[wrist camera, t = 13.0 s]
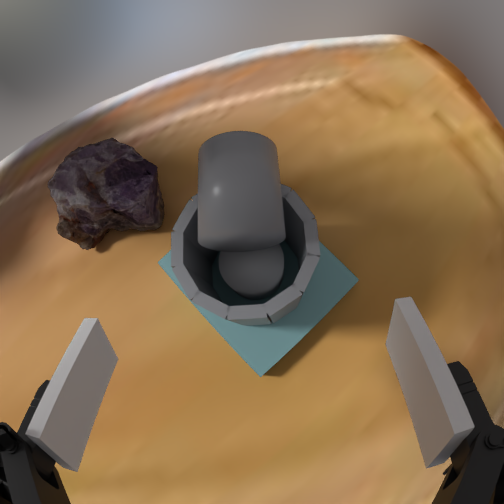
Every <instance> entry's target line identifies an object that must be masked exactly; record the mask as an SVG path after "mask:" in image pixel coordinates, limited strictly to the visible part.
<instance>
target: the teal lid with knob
mask: <svg viewBox="0 0 504 504" xmlns="http://www.w3.org/2000/svg"><path fill="white" fill-rule="evenodd" d="M319 247H320V259H319V261H318V263H317V266H316V268H315V270H314V272H313V274H312V276H311V279H310V281H309V283H308V285H307V287H306V289H305V292H304V294H303V296H302V298H301V300H300V302H299V304H298V306H297V307H296V309H294V310H293V311H291V312H290V313H288V314H287V315H286V316H284V317H283V318H281V319H280V320H278V321H277V322H275V323H273V322H272V324H266V325H251V326H244V325H240V324H237V323H234V322H231V321H229V320H226V319H223V318H222V317H220V316H218V315H216V314H214V313H212V312H210V311H208V310H206V309H204V308H202V307H201V306H199V305H197V304H195V303H193V302H192V301H191V300H190V299H189V298H188V296H187V294H186V293H185V291H184V289H183V288H182V286H181V284H180V283H179V281H178V279H177V277H176V276H175V274H174V272H173V270H172V267H171V250H170V251H169V252H168V253H167V254H166V255H165V256H164V257H163V258H162V259H161V260H160V261H159V262H158V263H159V265H160V266H161V267H162V268H163V270H164V271H165V272H166V273H167V274H168V276H169V277H170V278H171V279H172V280H173V281H174V283H175V284H176V285H177V286H178V287H179V289H180V290H181V291H182V292H183V293H184V294H185V295H186V297H187V298H188V299H189V300H190V301H191V302H192V304H193V305H194V306H195V307H196V308H197V309H198V310H199V312H200V313H201V314H202V315H203V316H204V317H205V318H206V319H207V320H208V322H209V323H210V324H211V325H212V326H213V327H214V328H215V329H216V330H217V332H218V333H219V334H220V335H221V336H222V337H223V338H224V339H225V340H226V341H227V342H228V344H229V345H230V346H231V347H232V348H233V349H234V350H235V351H236V352H237V353H238V354H239V355H240V356H241V357H242V358H243V359H244V361H245V362H246V363H247V364H248V365H249V366H250V367H251V368H252V369H253V370H254V371H255V372H256V373H257V374H258V375H259V376H260V377H261V376H262V375H264V374H265V373H266V372H267V371H268V370H269V369H270V368H271V367H272V366H273V365H274V364H276V363H277V362H278V361H279V360H280V359H281V358H282V357H283V356H284V355H285V354H286V353H287V352H288V351H289V350H290V349H292V348H293V347H294V346H295V345H296V344H297V343H298V342H299V341H300V340H301V339H302V338H303V337H304V336H305V335H306V334H307V333H308V332H309V331H310V330H311V329H312V328H313V327H314V326H315V325H316V324H317V323H318V322H319V321H320V320H321V319H322V318H323V317H324V316H325V315H326V314H327V313H328V312H329V311H330V310H331V309H332V308H333V307H334V306H335V305H336V304H337V303H338V302H339V301H340V300H341V299H342V298H343V297H344V295H345V294H346V293H347V292H348V291H349V290H350V289H351V288H352V287H353V286H354V285H355V284H356V283H357V282H358V280H359V279H358V278H357V277H356V276H355V275H354V274H353V273H352V272H351V271H350V270H349V269H348V268H347V267H346V266H345V265H344V264H343V263H342V262H341V261H339V260H338V259H337V258H336V257H335V256H334V255H333V254H332V253H331V252H330V251H329V250H328V249H327V248H326V247H325V246H324V245H323V244H322V243H321V242H320V241H319ZM212 272H213V288H214V289H215V291H216V292H217V294H218V296H219V297H220V299H221V300H222V302H223V303H224V304H226V305H228V306H241V305H256V304H265V303H266V302H268V301H269V300H271V299H272V298H274V297H275V296H276V295H278V294H279V293H281V292H282V291H284V290H285V289H287V288H288V287H290V286H291V285H293V283H294V281H295V279H296V277H297V274H298V272H299V269H298V259H297V257H296V255H295V254H294V252H293V251H292V250H291V248H290V247H289V246H288V244H287V243H286V241H285V240H284V241H283V242H281V243H279V244H278V245H275V246H273V247H269V248H266V249H261V250H255V251H246V252H225V251H219V253H218V255H217V256H216V258H215V260H214V262H213V264H212Z"/></svg>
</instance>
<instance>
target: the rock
mask: <svg viewBox="0 0 504 504" xmlns="http://www.w3.org/2000/svg"><path fill="white" fill-rule="evenodd" d="M157 176H158V173H157V166H156V165H154V164H152V163H150V162H148V161H147V160H146V159H143V158H142V156H140V154H138V153H137V152H136V151H135V150H134V148H133V147H131V146H128V145H126V144H123V143H120V142H118V141H117V140H116V139H114V138H110V139H107V140H103V141H101V142H98V143H96V144H89V145H86V146H84V147H78V148H77V149H76V150H75V151H72V152H71V153H70V154H69V155H68V156H66V157H65V159H64V162H63V163H61V164H60V165H59V167H58V168H57V169H56V171H55V174H54V176H53V177H52V179H50V180H49V182H48V188H49V189H50V192H51V197H52V198H53V199H54V201H55V202H56V204H57V212H58V214H59V223H58V225H57V231H58V234H59V235H61V236H62V237H64V238H66V239H68V240H71V241H73V242H75V243H77V244H79V245H80V247H81V248H82V249H86V250H88V249H91V248H94V247H95V246H96V245H97V244H98V243H99V242H100V241H101V240H102V238H103V236H104V234H105V233H108V231H109V229H110V228H113V229H116V230H118V231H126V230H129V229H130V228H131V229H138V230H139V231H145V230H149V229H150V230H156V229H157V228H159V227H160V226H161V225H162V221H163V218H164V202H163V199H162V194H161V191H160V188H159V184H158V179H157Z"/></svg>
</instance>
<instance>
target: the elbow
mask: <svg viewBox="0 0 504 504" xmlns="http://www.w3.org/2000/svg"><path fill="white" fill-rule="evenodd" d="M291 190H292V188H290V187H288V186H285V185H283V184H281V183H280V174H279V164H278V156H277V148H276V146H275V144H274V143H273V142H272V141H271V140H270V139H269V138H267V137H265V136H263V135H261V134H258V133H254V132H248V131H232V132H226V133H222V134H219V135H216V136H214V137H212V138H210V139H208V140H207V141H206V142H204V143H203V144H202V146H201V147H200V149H199V155H198V194H196V195H195V196H193V197H191V198H192V200H193V201H192V200H189V201H188V203H187V204H186V206H185V208H184V210H183V211H182V213H181V215H180V216H179V218H178V220H177V222H176V224H175V225H174V227H173V229H172V230H173V231H174V232H171V267H172V270H173V272H174V274H175V276H176V277H177V279H178V281H179V283H180V284H181V286H182V288H183V289H184V291H185V293H186V294H187V296H188V298H189V299H190V300H191V301H192V302H193V303H195V304H197V305H199V306H201V307H202V308H204V309H206V310H208V311H210V312H212V313H214V314H216V315H218V316H220V317H222V318H223V319H226V320H229V321H231V322H234V323H237V324H240V325H244V326H251V325H266V324H272V322H273V323H275V322H277V321H278V320H280V319H281V318H283V317H284V316H286V315H287V314H288V313H290V312H291V311H293V310H294V309H296V307H297V306H298V304H299V302H300V300H301V298H302V296H303V294H304V292H305V289H306V287H307V285H308V283H309V281H310V279H311V276H312V274H313V272H314V270H315V268H316V266H317V263H318V261H319V259H320V247H319V238H318V230H317V222H316V219H315V216H314V215H313V214H312V212H311V211H310V210H309V208H308V207H307V206H306V205H305V203H304V202H303V201H302V200H301V198H300V197H299V196H298V195H297V193H296V192H295V191H294V190H292V191H291ZM284 240H285V241H286V243H287V244H288V246H289V247H290V248H291V250H292V251H293V252H294V254H295V255H296V257H297V259H298V269H299V272H298V274H297V277H296V279H295V281H294V283H293V285H291V286H290V287H288V288H287V289H285V290H284V291H282V292H281V293H279V294H278V295H276V296H275V297H274V298H272V299H271V300H269V301H268V302H266V303H265V304H256V305H241V306H228V305H226V304H224V303H223V302H222V300H221V299H220V297H219V296H218V294H217V292H216V291H215V289H214V288H213V272H212V264H213V262H214V260H215V258H216V256H217V255H218V253H219V251H225V252H246V251H255V250H261V249H266V248H269V247H273V246H275V245H278V244H279V243H281V242H283V241H284Z"/></svg>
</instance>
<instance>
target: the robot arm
mask: <svg viewBox="0 0 504 504" xmlns="http://www.w3.org/2000/svg"><path fill="white" fill-rule="evenodd" d="M386 347H387V350H388V352H389V355H390V358H391V360H392V363H393V366H394V369H395V372H396V374H397V377H398V380H399V383H400V386H401V389H402V392H403V394H404V397H405V400H406V403H407V406H408V409H409V413H410V416H411V419H412V422H413V425H414V428H415V432H416V435H417V438H418V442H419V445H420V449H421V452H422V456H423V459H424V463H425V466H426V468H429V467H433V466H436V465H439V464H442V463H444V462H445V461H446V460H447V459H448V458H449V457H450V458H451V461H452V464H451V465H450V466H449V467H448V468H447V469H446V470H445V471H444V473H443V475H445V474H446V473H447V474H446V476H445V478H444V481H443V483H442V485H441V487H440V489H439V491H438V493H437V495H436V497H435V498H434V500H433V502H432V504H504V429H503V428H501V427H500V426H498V425H495V424H494V423H493V422H492V420H491V418H490V416H489V413H488V411H487V409H486V407H485V405H484V402H483V400H482V398H481V396H480V394H479V392H478V391H477V388H476V386H475V384H474V383H473V379H472V377H471V376H470V374H469V372H468V370H467V369H466V368H465V367H464V366H463V365H462V364H461V363H460V362H459V361H457V362H453V363H449V364H447V363H446V361H445V359H444V357H443V355H442V353H441V351H440V349H439V347H438V345H437V343H436V341H435V340H434V338H433V336H432V334H431V332H430V330H429V328H428V326H427V324H426V323H425V321H424V319H423V317H422V315H421V313H420V312H419V310H418V308H417V306H416V304H415V303H414V301H413V299H412V297H405V298H398V299H395V302H394V307H393V312H392V317H391V322H390V327H389V331H388V336H387V340H386ZM117 361H118V357H117V356H116V354H115V352H114V350H113V348H112V346H111V344H110V342H109V340H108V338H107V336H106V334H105V332H104V330H103V328H102V326H101V324H100V322H99V320H98V318H85V319H84V320H83V322H82V324H81V325H80V327H79V329H78V331H77V332H76V334H75V336H74V338H73V339H72V341H71V343H70V345H69V347H68V348H67V350H66V352H65V354H64V356H63V358H62V359H61V361H60V363H59V365H58V367H57V369H56V371H55V373H54V375H53V376H52V378H51V380H50V381H49V380H46V381H45V382H44V383H43V384H42V385H41V386H40V387H39V388H38V390H37V392H36V394H35V396H34V399H33V400H32V402H31V404H30V405H31V406H29V409H28V411H27V413H26V415H25V417H24V419H23V421H22V423H21V426H20V428H19V430H18V432H17V433H16V432H15V431H14V430H13V429H12V428H11V427H10V426H9V425H8V424H7V423H4V422H1V423H0V504H71V503H70V501H69V498H68V496H67V493H66V491H65V489H64V486H63V484H62V481H61V478H60V476H59V473H58V471H57V469H56V467H55V466H54V465H55V462H57V463H58V464H59V465H61V466H62V467H63V468H66V469H69V470H73V471H76V472H78V469H79V466H80V462H81V459H82V456H83V453H84V450H85V447H86V444H87V441H88V438H89V435H90V432H91V430H92V427H93V424H94V421H95V418H96V415H97V413H98V410H99V407H100V405H101V402H102V399H103V396H104V394H105V391H106V389H107V386H108V383H109V381H110V378H111V376H112V373H113V371H114V368H115V366H116V363H117Z"/></svg>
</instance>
